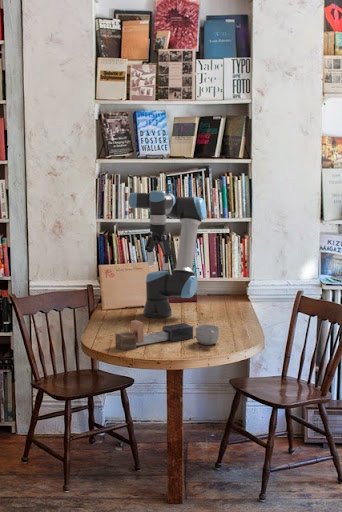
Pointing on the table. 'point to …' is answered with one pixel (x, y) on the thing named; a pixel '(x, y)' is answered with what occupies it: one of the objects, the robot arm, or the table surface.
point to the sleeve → (179, 331)
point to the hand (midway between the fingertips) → (158, 267)
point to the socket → (125, 340)
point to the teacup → (207, 334)
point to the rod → (147, 338)
